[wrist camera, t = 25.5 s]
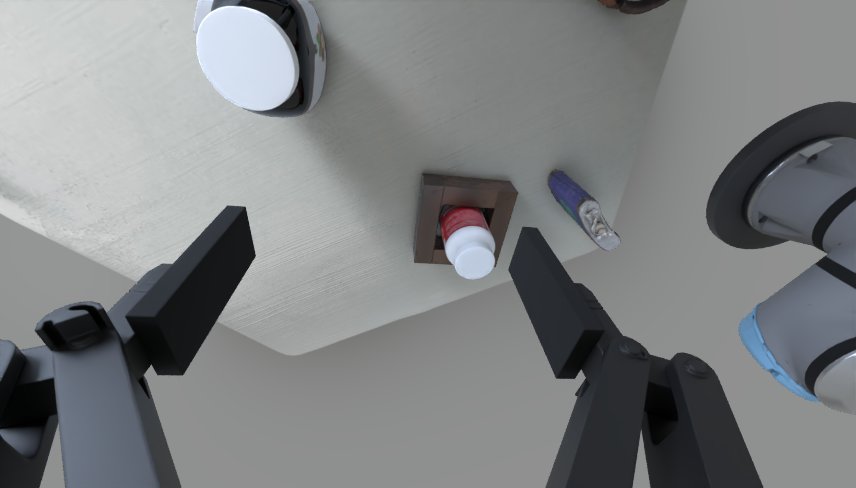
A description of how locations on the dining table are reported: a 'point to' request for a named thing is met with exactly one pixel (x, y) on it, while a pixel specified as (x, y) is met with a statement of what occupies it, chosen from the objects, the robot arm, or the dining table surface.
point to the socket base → (462, 193)
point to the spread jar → (262, 53)
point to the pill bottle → (467, 240)
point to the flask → (582, 210)
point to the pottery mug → (633, 5)
